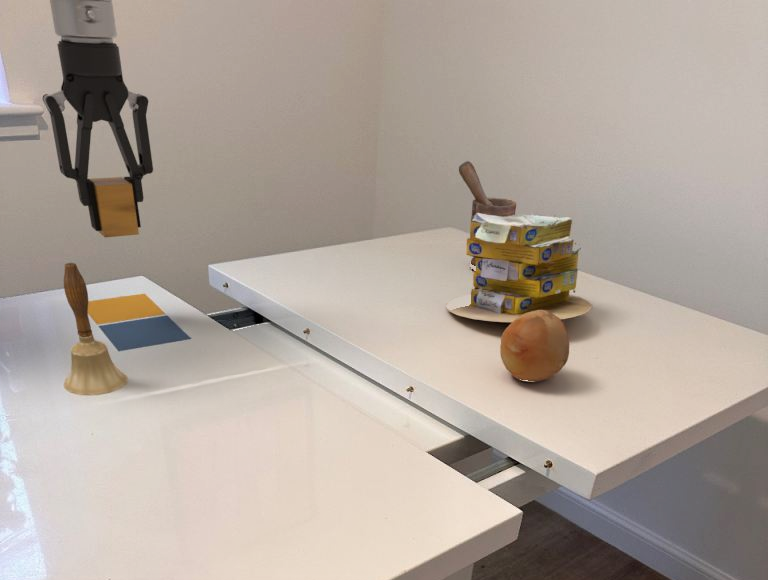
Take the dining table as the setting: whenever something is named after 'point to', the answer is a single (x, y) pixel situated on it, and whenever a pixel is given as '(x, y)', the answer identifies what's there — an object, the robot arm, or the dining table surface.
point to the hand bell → (88, 346)
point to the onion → (535, 346)
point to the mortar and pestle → (484, 197)
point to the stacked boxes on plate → (522, 268)
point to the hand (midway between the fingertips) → (116, 226)
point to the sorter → (134, 322)
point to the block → (115, 206)
